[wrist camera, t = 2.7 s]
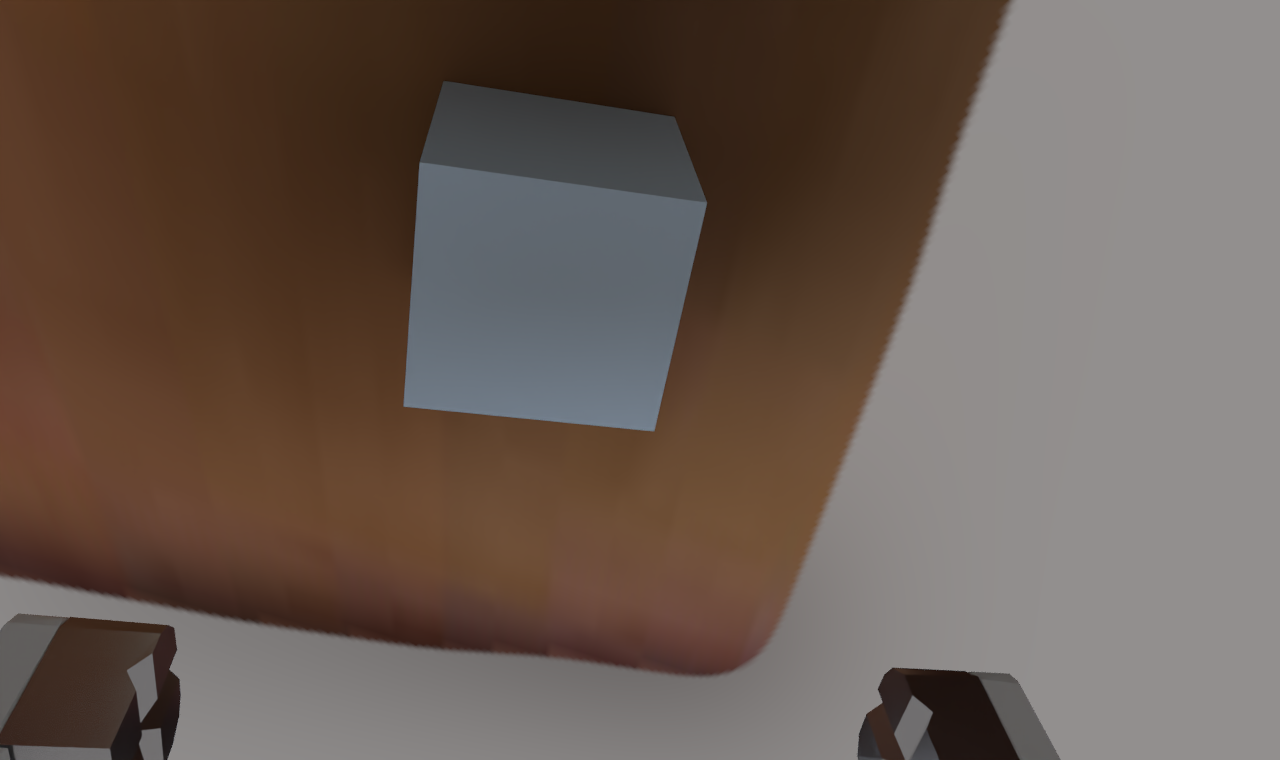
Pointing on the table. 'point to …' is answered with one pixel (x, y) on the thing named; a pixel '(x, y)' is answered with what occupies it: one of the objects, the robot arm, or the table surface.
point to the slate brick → (549, 258)
